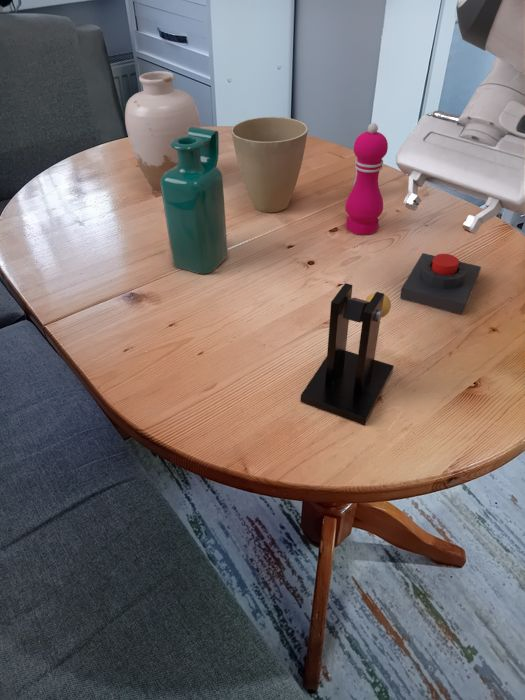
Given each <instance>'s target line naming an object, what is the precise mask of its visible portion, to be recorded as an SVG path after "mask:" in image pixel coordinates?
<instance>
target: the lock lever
mask: <svg viewBox="0 0 525 700" xmlns="http://www.w3.org/2000/svg"><path fill="white" fill-rule="evenodd" d="M375 293H376V292H373V293H370V294H369V295H368V296H366V299H365V300H364V299H360V298H358V297H351V298H348V299H347V302H346V306H345V309H344V313H343V318H345V319H349V321H353V322H355V323H362V321H363V313H364V310H365V308H366V307H367V305H368V304H369V302H370V301H371V299H372V298H373V296H374V295H375ZM391 308H392V302H391V299H390V297H389V296H388V295H386V294H385V293H384V299H383V306H382V312H383V313H382V317H381V319H383V318H384V317H386V316H387V315H388V314H389V313H390V311H391Z"/></svg>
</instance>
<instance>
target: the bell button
mask: <svg viewBox="0 0 525 700" xmlns="http://www.w3.org/2000/svg"><path fill="white" fill-rule="evenodd" d="M434 256H435V257H434V258H433V263H432V270H433V271H434V272H436V273H438V274H442V275H453V274H455V273H456V272H457V269H458V265H459V261H460V259H459V258H458V257H457V256H455V255H453V254H449V253H439V254H438V253H437V254H435V255H434Z"/></svg>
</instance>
